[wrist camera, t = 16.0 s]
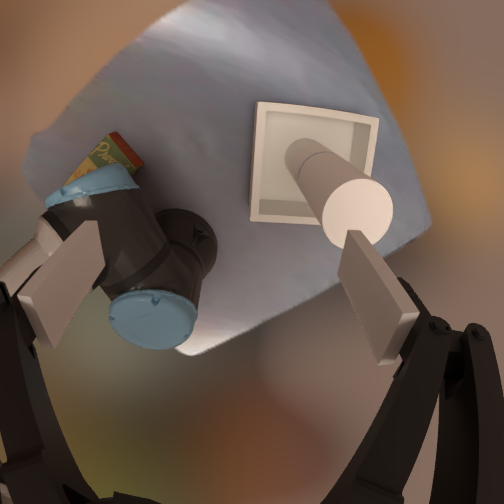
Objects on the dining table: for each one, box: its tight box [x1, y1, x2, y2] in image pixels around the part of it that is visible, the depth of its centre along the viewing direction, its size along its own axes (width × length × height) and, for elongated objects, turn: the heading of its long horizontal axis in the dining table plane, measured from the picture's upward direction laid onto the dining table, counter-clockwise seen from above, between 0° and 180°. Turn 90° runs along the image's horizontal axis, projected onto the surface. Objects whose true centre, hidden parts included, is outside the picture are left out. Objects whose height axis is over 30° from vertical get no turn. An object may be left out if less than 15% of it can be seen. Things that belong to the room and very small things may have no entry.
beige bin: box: [249, 101, 379, 225], centre depth 45 cm, size 18×18×8 cm
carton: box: [62, 132, 144, 187], centre depth 47 cm, size 8×16×4 cm, turn 126°
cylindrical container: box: [285, 138, 393, 248], centre depth 37 cm, size 7×7×25 cm
